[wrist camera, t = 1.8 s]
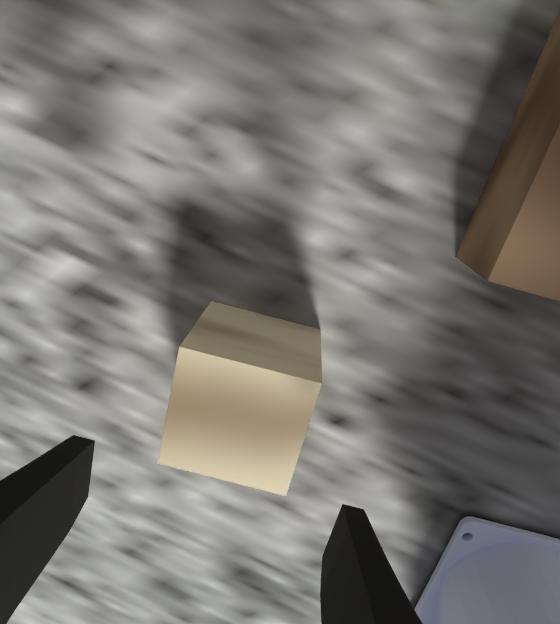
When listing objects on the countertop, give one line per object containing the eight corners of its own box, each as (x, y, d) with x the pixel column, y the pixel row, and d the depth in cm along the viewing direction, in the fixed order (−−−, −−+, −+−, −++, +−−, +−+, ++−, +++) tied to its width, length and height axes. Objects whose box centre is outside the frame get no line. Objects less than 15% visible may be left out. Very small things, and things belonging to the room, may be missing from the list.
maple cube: (292, 421, 22) (285, 495, 17) (191, 395, 22) (157, 463, 17) (320, 328, 20) (322, 383, 15) (211, 300, 20) (179, 346, 15)
